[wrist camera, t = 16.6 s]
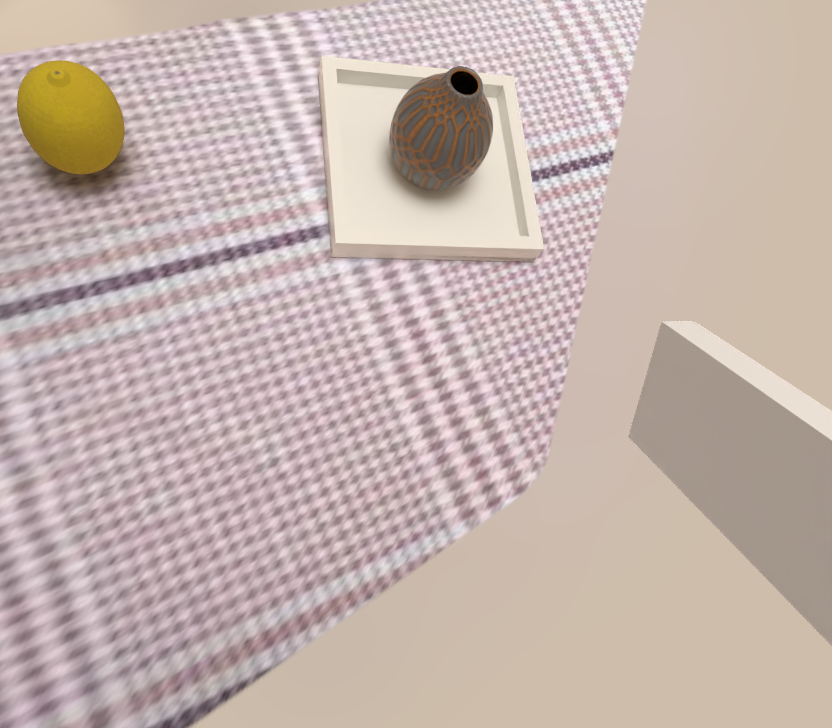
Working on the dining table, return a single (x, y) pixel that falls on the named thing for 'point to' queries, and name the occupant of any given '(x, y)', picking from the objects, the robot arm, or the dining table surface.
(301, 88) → the dining table surface
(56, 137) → the lemon
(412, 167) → the vase
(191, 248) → the dining table surface
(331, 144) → the holder tray
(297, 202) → the dining table surface
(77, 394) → the dining table surface
